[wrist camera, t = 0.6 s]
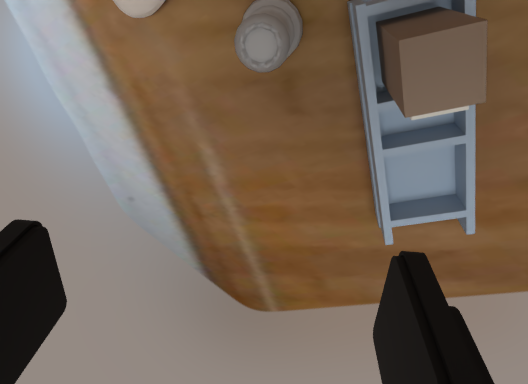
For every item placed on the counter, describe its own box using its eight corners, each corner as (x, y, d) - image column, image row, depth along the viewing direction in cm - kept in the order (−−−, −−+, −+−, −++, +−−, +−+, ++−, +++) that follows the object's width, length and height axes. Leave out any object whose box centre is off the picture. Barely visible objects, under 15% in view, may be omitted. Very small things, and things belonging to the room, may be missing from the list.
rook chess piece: (282, 70, 30) (274, 100, 23) (232, 39, 30) (207, 61, 23) (315, 16, 28) (316, 31, 21) (261, -19, 27) (244, -16, 21)
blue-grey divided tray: (453, -27, 26) (524, -25, 17) (458, 203, 34) (508, 282, 26) (347, 1, 27) (363, 15, 19) (375, 215, 36) (396, 293, 27)
